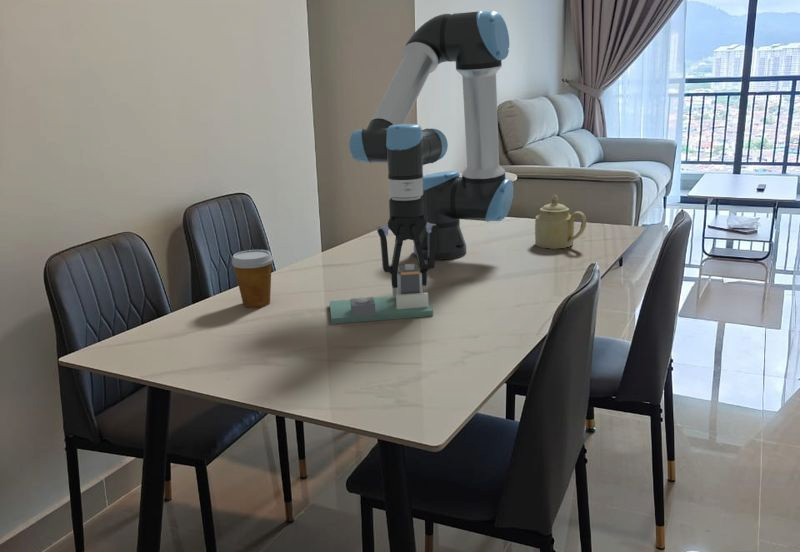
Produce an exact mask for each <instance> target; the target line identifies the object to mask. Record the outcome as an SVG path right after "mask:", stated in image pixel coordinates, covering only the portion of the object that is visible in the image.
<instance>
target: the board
mask: <svg viewBox="0 0 800 552" xmlns="http://www.w3.org/2000/svg"><path fill="white" fill-rule="evenodd" d="M391 290H392V293H391V294H392V295H391V296H383V297H382V296H381V297H380V296H378V297H373V296H368V297H358V298H357V297H356V298H355V297H354V298H350V299H341V300H339V299H338V300H329V309H330V310H329V311H330V319H331V320H330V321H331V325H333V324H336V325H337V324H346V323H359V322H360V323H363V322H372V321H384V320H385V321H387V320H398V319H399V320H400V319H410V318H422V317H423V318H424V317H433V316H434V309H433V308H432V306H431V305H430V303H429V292H424V286H422V293H415V294H401V295H397V288H393V286H392V285H391Z"/></svg>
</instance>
